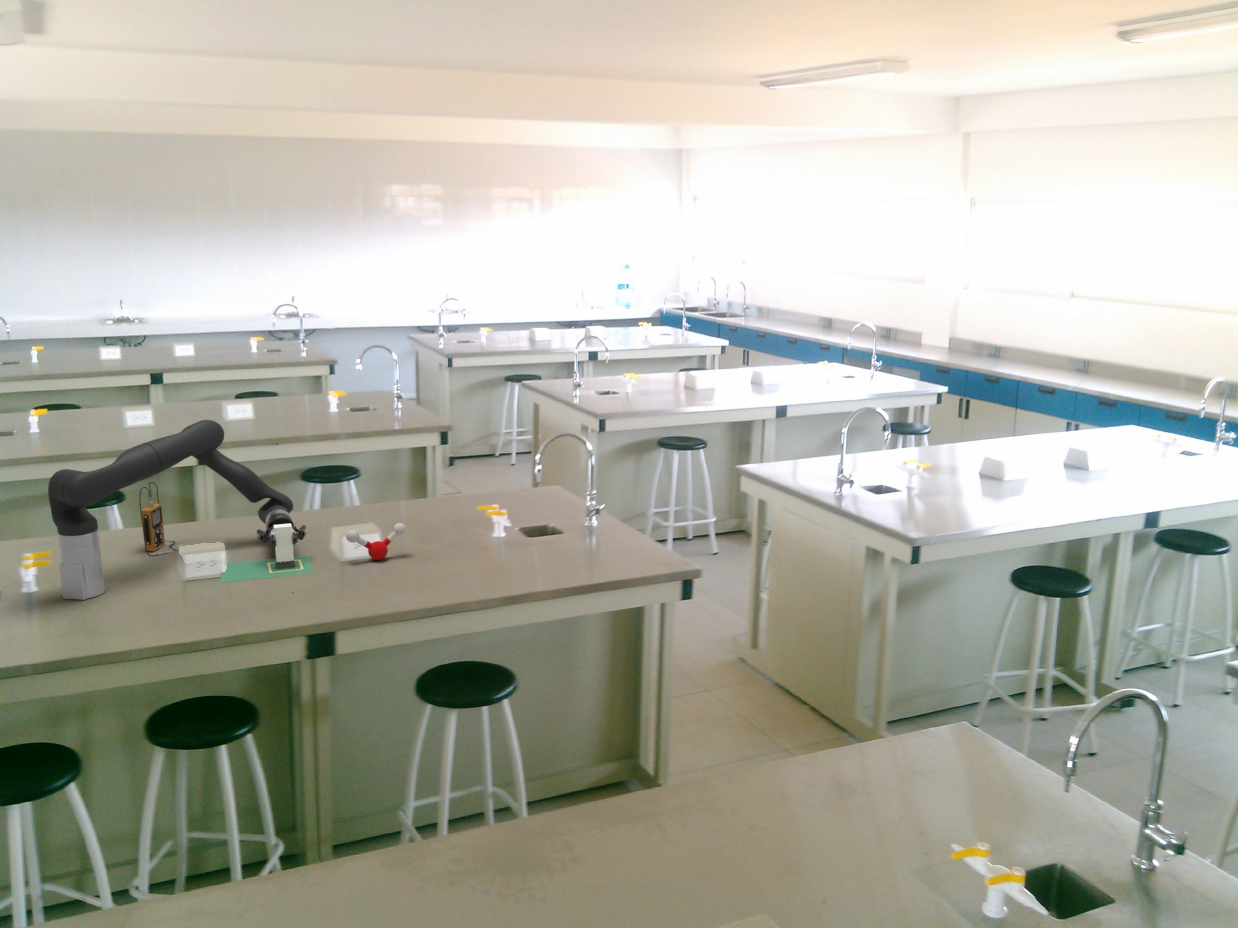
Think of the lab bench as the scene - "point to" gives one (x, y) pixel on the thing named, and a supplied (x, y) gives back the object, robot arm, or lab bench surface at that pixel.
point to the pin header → (285, 564)
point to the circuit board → (264, 569)
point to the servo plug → (283, 542)
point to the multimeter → (153, 525)
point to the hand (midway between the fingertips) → (284, 542)
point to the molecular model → (377, 548)
